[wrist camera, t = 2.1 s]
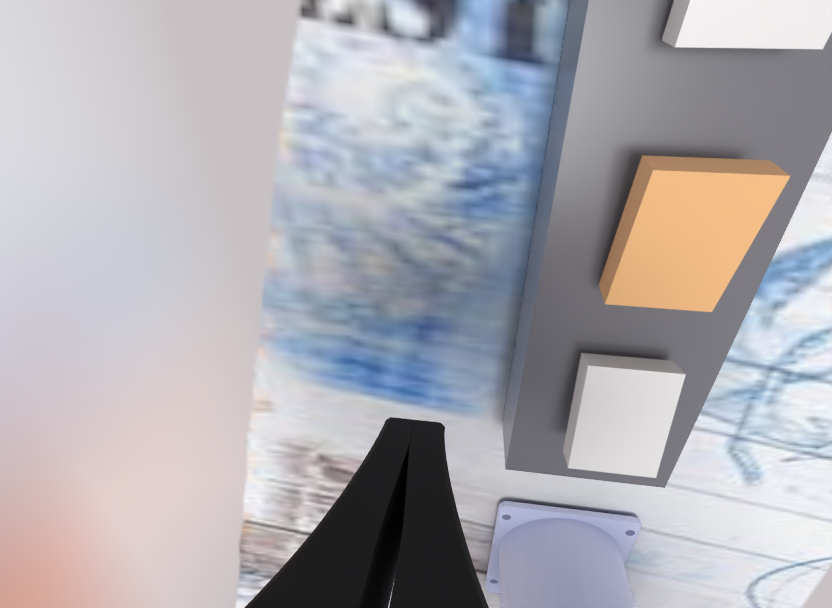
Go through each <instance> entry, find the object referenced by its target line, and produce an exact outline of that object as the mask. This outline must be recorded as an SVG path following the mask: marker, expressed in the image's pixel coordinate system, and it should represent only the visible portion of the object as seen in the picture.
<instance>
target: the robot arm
mask: <svg viewBox="0 0 832 608" xmlns="http://www.w3.org/2000/svg"><path fill="white" fill-rule="evenodd" d="M444 431H445V427H444V426H443V425H442V424H441V423H439V422H429V421H420V420H411V419H401V418H392V417H390V418H389V419H387V420H386V421H385V424H384V426H383V428H382V430H381V432H380V434H379V436H378V437H377V439H376V441H375V443H374V445H373V446H372V448H371V450H370V451H369V453H368V455H367V456H366V458H365V459H364V461H363V463H362V464H361V466H360V467H359V469H358V470H357V472H356V473H355V475H354V476H353V478H352V479H351V481H350V482H349V484H348V485H347V487H346V488H345V490H344V491H343V492H342V494H341V495H340V497H339V498H338V499H337V501H336V502H335V503H334V505H333V506H332V507H331V509H330V510H329V511H328V513H327V514H326V515H325V517H324V518H323V519H322V521H321V522H320V523H319V525H318V526H317V527H316V528H315V530H314V531H313V532H312V533H311V535H310V536H309V537H308V538H307V539H306V541H305V542H304V543H303V544H302V545H301V547H300V548H299V549H298V550H297V551H296V552H295V554H294V555H293V556H292V557H291V558H290V559H289V561H288V562H287V563H286V564H285V565H284V566H283V567H282V568H281V570H280V571H279V572H278V573H277V574H276V575H275V576H274V577H273V578H272V579H271V580H270V581H269V582H268V584H267V585H266V586H265V587H264V588H263V589H262V590H261V591H260V592H259V593H258V594H257V595H256V596H255V597H254V598H253V600H252V601H251V602H250V603H249V604H248V605H247V606H246V607H245V608H388V604H389V600H390V596H391V592H392V596H391V601H390V607H389V608H489V607H488V605H487V602H486V600H485V597H484V594H483V591H482V589H481V586H480V583H479V580H478V577H477V575H476V572H475V569H474V566H473V563H472V560H471V557H470V554H469V550H468V547H467V544H466V541H465V537H464V534H463V530H462V527H461V524H460V520H459V516H458V512H457V508H456V504H455V500H454V496H453V491H452V487H451V483H450V478H449V472H448V466H447V460H446V452H445V439H444ZM641 527H642V526H641V523H640V520H639V519H638V518H636V517H633V516H625V515H617V514H609V513H601V512H592V511H584V510H576V509H568V508H560V507H552V506H544V505H536V504H528V503H520V502H511V501H503V502H501V503H500V504H499V506H498V512H497V517H496V523H495V529H494V534H493V540H492V546H491V551H490V557H489V563H488V568H487V574H486V580H485V589H486V590H487V591H488V592H490V593H496V594H500V608H637V607H636V604H635V600H634V597H633V593H632V590H631V586H630V583H629V579H628V576H627V572H626V569H625V563H626V560H627V558H628V556H629V554H630V552H631V550H632V547H633V545H634V543H635V541H636V539H637V537H638V534H639V532H640V530H641ZM395 574H396V575H395ZM394 579H395V580H394ZM393 583H394V586H393ZM392 587H393V591H392Z"/></svg>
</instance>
